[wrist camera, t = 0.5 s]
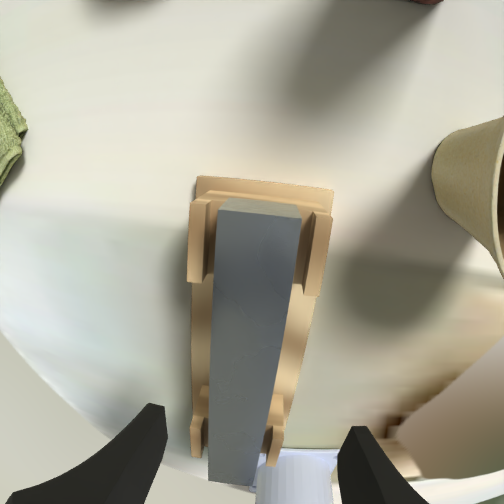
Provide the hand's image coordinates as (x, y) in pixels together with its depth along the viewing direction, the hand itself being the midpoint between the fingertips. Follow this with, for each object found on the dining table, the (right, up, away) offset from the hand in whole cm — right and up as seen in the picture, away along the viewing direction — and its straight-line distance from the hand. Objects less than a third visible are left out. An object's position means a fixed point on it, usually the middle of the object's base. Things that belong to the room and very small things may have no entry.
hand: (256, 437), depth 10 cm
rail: (-1, +1, +6) cm, 6 cm away
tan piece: (0, +2, +10) cm, 10 cm away
